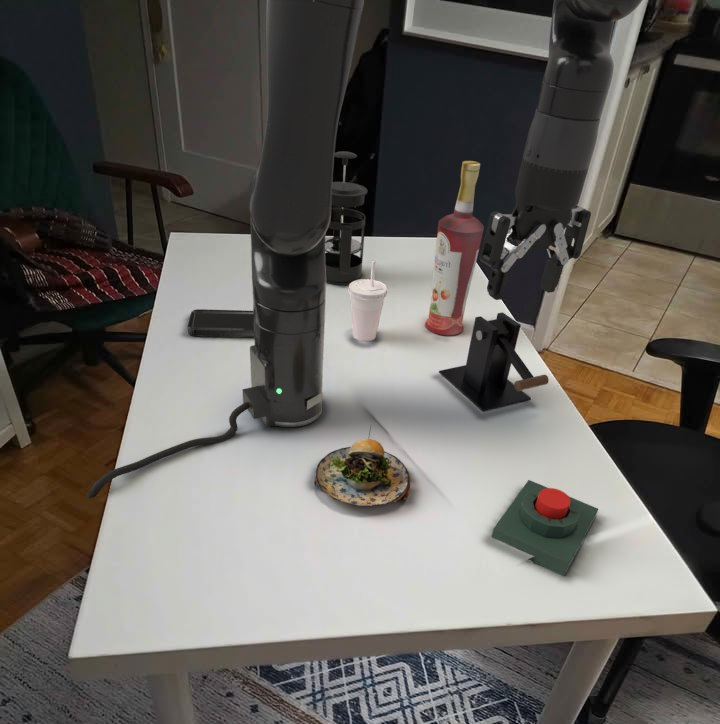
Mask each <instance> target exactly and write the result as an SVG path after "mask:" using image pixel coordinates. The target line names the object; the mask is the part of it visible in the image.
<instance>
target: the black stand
mask: <svg viewBox="0 0 720 724" xmlns="http://www.w3.org/2000/svg"><path fill="white" fill-rule="evenodd" d="M496 319H501V321H502V322H503V324H504V325H505V326H506V328H507V329H508V330H509V334H508V336H507V337H506V339H507V340H508V342H509V343H510V344H511V346H512V347H513V349H514V350H515V351H516V346H517V342H518V339H519V336H520V335H519V334H520V331H521V326H522V324H520V323H519V322H517V321H516V320H514V319H513V318H512V317H510V316H509V315H507V314H506V313H505V312H498V313H497V314H496ZM488 321H489V320H487V319H486V318H484V317H483V316H481V315H479V316H475V317H474V322H473V327H472V332H471V337H470V342H469V348H468V353H467V357H466V363H465V365H459V366H455V367H450V368H445V369H441V370H438V373H439V374H440V375H441V376H442V377H443V378H444V379H445V380H446V381H447V382H448V383H450V384H451V385H452V386H453V387H454V388H455V389H456V390H457V391H458V392H460V393H461V394H462V395H463V396H464V397H466V399H468V401H470V402H471V403H472V404H473V405H474V406H475V407H476V408H478V409H479V410H480V411H481V412H482V413H483V412H488V411H492V410H495V409H500V408H504V407H508V406H511V405H516V404H520V403H523V402H528V401H531V400H532V398H531V396H529V394H527V393H526V392H524V390H522V391H517V390H516V389H515V387H514V384H515V383H513V382H511V380H509V379H508V378H509V374H510V371H511V368H512V367H511V366H512V364H511V362H510V361H509V359H508V358H507V356H506V355H505V354H504V352H503V351H502V349H501V348H500V347H499V345H495V343H496V339H497V335H498V330H499V329H498V328H496V327H495V326H493V325H492V324H491V323H489V322H488Z"/></svg>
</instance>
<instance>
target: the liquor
mask: <svg viewBox="0 0 720 724" xmlns="http://www.w3.org/2000/svg"><path fill="white" fill-rule="evenodd" d="M461 164H462V165H461V170H460V186H459V190H458V194H457V198H456V202H455V206H454V210H453V213H451V214H447V215H445V216H443V217H442V218H440V219H439V220H438V222H437V233H436V242H435V250H434V263H433V276H432V283H431V284H432V285H431V295H430V303H429V312H428V318H427V319H426V320H425V322H424V325H425V327H426V329H428V330H429V331H430V332H432V333H434V334H436V335H439V336H444V337H445V336H447V337H451V336H455V335H456V336H457V335H459V334H460V333H462V332H463V331H464V329H465V327H464V324H463V320H464V315H465V311H466V305H467V301H468V297H469V293H470V289H471V285H472V280H473V275H474V272H475V269H476V265H477V259H478V256H479V252H480V247H481V243H482V239H483V234H484V230H485V226H484V224H483V223H482V222H481V220H480V219H478V218H476V217H475V216H473V212H474V201H475V190H476V185H477V181H478V178H479V173H480V168H481V163H480V162H479V161H473V160H463V161H462V163H461Z"/></svg>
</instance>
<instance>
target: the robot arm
mask: <svg viewBox="0 0 720 724" xmlns="http://www.w3.org/2000/svg"><path fill="white" fill-rule="evenodd" d="M642 2H643V0H553V4H552V13H551V23H550V31H549V45H548V59H547V63H546V67H545V70H544V74H543V78H542V82H541V85H540V90H539V95H538V100H537V103H536V109H535V112H534V115H533V118H532V121H531V123H530V127H529V129H528V133H527V136H526V142H525V145H524V150H523V154H522V160H521V163H520V166H519V167H520V168H519V171H518V177H517V181H516V185H515V189H514V196H515V206H514V208H513V210H512V212H511V213H507V214H504V213H500V212H499V211H498V210H493V211H492V212H491V213H490V215H489V218H488V223H487V226H486V230H485V234H484V238H483V242H482V245H481V249H480V253H479V261H480V262H482V263H483V264H485V265H487V266H488V267H490V273H489V277H488V281H487V285H486V291H487V294H488V296H489V297H491V298H492V299H493V300H496V301H501V300H503V298H504V295H505V291H506V287H507V283H508V280H509V279H508V278H509V275H510V271H509V270H510V269H511V267H512V266H513V265H514V264H515V263H516V262H517V260H518V259H522V258H523V257H524V256H525V255H526V253H527V252H532V251H535V250H538V249H541V250H546V252H547V254H548V257H549V258H550V259H546V262H545V265H544V269H543V273H542V276H541V279H540V284H539V287H540V289H541V290H543V291H544V292H546V293H548V294H549V293H554V292H555V291H556V288H557V287H558V286H559V283H560V280H561V276H562V273H563V271H564V270H563V269H564V267H565V265H567V264H568V263H569V261H570V260H571V259H574V260H577V259H579V258H580V257H581V254H582V251H583V248H584V247H583V246H584V243H585V239H586V236H587V232H588V227H589V224H590V221H591V217H592V212H591V211H590V210H588V209H586V208H584V207H582V206H579V203H580V201H581V200H580V199H581V197H582V192H583V189H584V187H585V186H584V185H585V182H586V179H587V176H588V172H589V169H590V165H591V161H592V159H593V155H594V152H595V148H596V145H597V139H598V134H599V127H600V122H601V118H602V115H603V112H604V108H605V105H606V101H607V97H608V94H609V90H610V87H611V83H612V80H613V75H614V67H615V65H614V60H613V58H612V55H611V51H610V45H611V39H612V34H613V29H614V25H615V22H616V21H619V20H622V19H624V18H626V17H627V16H629V15H631V14H632V13H634V11H635V10H636V9H637V8H638V7H639V6H640V4H641V3H642ZM364 4H365V0H266V12H265V14H266V15H265V64H266V87H267V88H266V89H267V91H266V92H267V101H266V102H267V105H266V106H267V107H266V109H267V110H266V122H265V130H264V136H263V143H262V148H261V154H260V159H259V164H258V167H256V169H255V171H254V172H253V175H252V177H251V180H250V184H249V191H248V197H249V198H248V210H249V211H248V212H249V228H250V251H251V252H250V255H251V256H250V257H251V258H250V259H251V285H252V286H251V287H252V288H251V289H252V311H253V312H254V337H253V338H254V345H250V346H249V360H250V363H249V364H250V384H251V386H250V387H247V388H246V387H245V388H242V404H240V405H239V406H237V407H236V408H235V409H233V411H232V412H231V413H230V415H229V417H228V423H229V427H230V428H229V429H227V431H226V432H225V433H223V434H221V435H217V436H209V437H201V438H200V437H199V438H195V439H191V440H190V439H189V440H188V441H185V442H182V443H178V444H176V445H173V446H171V447H169V448H166V449H163V450H161V451H158V452H155V453H154V454H152V455H149V456H146V457H144V458H142V459H140V460H137V461H135V462H132V463H129V464H126V465H122V466H120V467H117V468H114V469H112V470H110V471H108V472H107V473H105V474H103V475H102V476H100V478H99V479H97V480H96V481H95V483H94V484H93V485H92V486H91V488H90V489H89V491H88V493H87V495H86V498H87V499H93V498H95V497H97V496H98V494H99V492H100V491H101V490H102V489H103V488H104V486H106V484H107V483H109V482H111V481H112V480H113V479H115V478H118V477H119V476H123V475H125V474H128V473H131V472H135V471H137V470H140V469H142V468H145V467H147V466H149V465H151V464H154V463H156V462H158V461H160V460H163V459H165V458H167V457H169V456H172V455H175V454H178V453H180V452H183V451H185V450H188V449H191V448H195V447H199V446H206V445H214V444H217V443H221V442H224V441H227V440H230V439H231V438H232V437H233V436H234V435H235V434H236V433H237V431H238V423H237V419H238V417H239V416H240V415H241V414H243V413H244V412H246V411H248V412H249V414H250V416H251V417H252V418H253V420H257V419H261V421H262V422H263V424H265V426H266V427H274V426H276V427H281V428H298V427H303V426H307V425H309V424H312V423H313V422H315V421H316V420H318V419H319V418H320V416H321V415H322V413H323V399H324V398H323V395H324V392H323V378H324V377H323V375H324V373H323V372H324V351H325V348H324V347H325V322H326V321H325V320H326V302H327V301H326V298H327V283H326V265H325V253H326V251H325V238H326V233H327V231H328V229H329V228H328V226H329V223H330V221H331V218H332V215H331V208H333V207H332V183H333V182H334V166H335V156H334V155H335V153H336V143H337V134H338V127H339V121H340V116H341V111H342V107H343V103H344V100H345V95H346V91H347V87H348V83H349V79H350V76H351V75H350V74H351V69H352V66H353V65H352V64H353V61H354V55H355V51H356V45H357V40H358V35H359V30H360V27H361V21H362V16H363V9H364ZM573 240H574V241H573ZM514 242H516V244H517V245H514V244H513V243H514Z"/></svg>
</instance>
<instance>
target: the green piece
mask: <svg viewBox="0 0 720 724" xmlns="http://www.w3.org/2000/svg"><path fill="white" fill-rule="evenodd" d="M546 488H548V486H545V485H542V484H540V483H538V482H535V481H533V480H531V479H528V480H527V481H526V482H525V484H524V486H523V487H522V488H521V489H520V491H519V492H518V494H517V495H516V497H515V498H514V500H513V501H512V502H511V503H510V505H509V506H508V508H507V509H506V511H504V513H503V515H502V516H501V517H500V519H499V520H498V522H497V523H496V525H495V526H494V527H493V529H492V533H491V538H493V539H495V540H497V541H500V542H502V543H504V544H506V545H509V546H511V547H513V548H515V549H517V550H519V551H521V552H523V553H526V554H528V555H530V556H532V557H530V558H528V559H527V561H530V562H532V563H535V564H537V565H539V566H541V567H543V568H545V569H548V570H550V571H552V572H553V573H556V574H558V575H561V576H563V577H565V576H566V574H567V573H568V570H569V568H570V566H571V565H572V563H573V561H574V559H575V557H576V556H577V553H578V551H579V550H580V548H581V546H582V544H583V542H584V541H585V537H586V535H587V533H588V532H589V529H590V528H591V526H592V524H593V523H594V520H595V519H596V517H597V514H598V511H599V508H598V507H596V506H593V505H591V504H588V503H585V502H583V501H581V500H579V499H576V498H574V497H571V496H569V498H570V506H569V508H568V511H567V514H566V516H565V517H564V518H562V519H560V520H557V519H549V518H547V517H544V516H542V515H540V514H539V513H538V512H537V511H536V508H535V504H536V501H537V498H538V495H539V492H540V491H541V490H543V489H546Z"/></svg>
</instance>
